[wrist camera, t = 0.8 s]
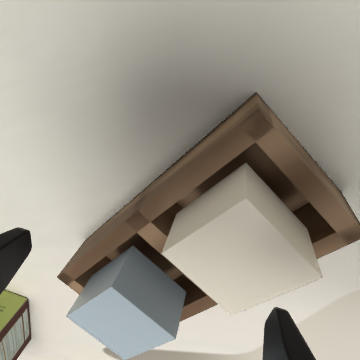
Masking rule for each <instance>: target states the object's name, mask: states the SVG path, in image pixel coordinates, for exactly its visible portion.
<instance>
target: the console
mask: <svg viewBox="0 0 360 360" xmlns="http://www.w3.org/2000/svg"><path fill="white" fill-rule="evenodd" d="M245 163H247V164H248V165H249V166H250V167H251V168H252V169H253V171H254V172H255V173H256V174H257V175H258V176H259V177H260V178H261V179H262V180H263V181H264V182H265V184H266V185H267V186H268V187H269V188H270V189H271V190H272V191H273V192H274V193H275V194H276V195H277V196H278V198H279V199H280V200H281V201H282V202H283V203H284V204H285V205H286V206H287V207H288V208H289V209H290V211H291V212H292V213H293V214H294V215H295V216H296V217H297V218H298V219H299V220H300V221H301V222H302V224H303V225H304V226H305V227H306V228H307V230H308V233H309V236H310V239H311V242H312V246H313V249H314V252H315V255H316V258H317V259H318V258H320V257H322V256H324V255H327V254H329V253H331V252H333V251H335V250H338V249H340V248H342V247H344V246H346V245H349V244H351V243H353V242H355V241H357V240H359V239H360V223H359V221H358V219H357V217H356V216H355V214H354V212H353V211H352V209H351V207H350V206H349V204H348V202H347V201H346V199H345V197H344V196H343V194H342V192H341V191H340V190H339V189H338V188H337V187H336V185H335V184H334V183H333V182H332V181H331V180H330V178H329V177H328V176H327V175H326V174H325V172H324V171H323V170H322V169H321V168H320V167H319V165H318V164H317V163H316V162H315V161H314V160H313V158H312V157H311V156H310V155H309V154H308V152H307V151H306V150H305V149H304V148H303V147H302V145H301V144H300V143H299V142H298V141H297V140H296V138H295V137H294V136H293V135H292V134H291V132H290V131H289V130H288V129H287V128H286V127H285V125H284V124H283V123H282V122H281V121H280V120H279V118H278V117H277V116H276V115H275V114H274V112H273V111H272V110H271V109H270V108H269V107H268V105H267V104H266V103H265V102H264V101H263V100H262V98H261V97H260V96H259V95H258V94H257V92H256V93H255V94H254V95H253V96H252V97H250V98H249V99H248V100H247V101H246V102H245V103H244V104H242V105H241V106H240V107H239V108H238V109H237V110H235V111H234V112H233V113H232V114H231V115H230V116H228V117H227V118H226V119H225V120H224V121H223V122H222V123H220V124H219V125H218V126H217V127H216V128H215V129H213V130H212V131H211V132H210V133H209V134H208V135H207V136H205V137H204V138H203V139H202V140H201V141H200V142H198V143H197V144H196V145H195V146H194V147H193V148H192V149H190V150H189V151H188V152H187V153H186V154H185V155H183V156H182V157H181V158H180V159H179V160H178V161H176V162H175V163H174V164H173V165H172V166H171V167H170V168H168V169H167V170H166V171H165V172H164V173H163V174H161V175H160V176H159V177H158V178H157V179H156V180H155V181H153V182H152V183H151V184H150V185H149V186H148V187H146V188H145V189H144V190H143V191H142V192H141V193H139V194H138V195H137V196H136V197H135V198H134V199H133V200H131V201H130V202H129V203H128V204H127V205H126V206H124V207H123V208H122V209H121V210H120V211H119V212H118V213H116V214H115V215H114V216H113V217H112V218H111V219H109V220H108V221H107V222H106V223H105V224H104V225H102V226H101V227H100V228H99V229H98V230H97V231H96V232H94V233H93V234H92V235H91V236H90V237H89V238H87V239H86V240H85V241H84V243H83V244H82V245H81V247H80V248H79V249H78V250H77V252H76V253H75V254H74V256H73V257H72V258H71V260H70V261H69V262H68V263H67V265H66V266H65V267H64V269H63V270H62V271H61V273H60V274H59V275H58V276H57V278H59V279H60V280H61V281H62V282H64V283H65V284H66V285H68V286H69V287H70V288H71V289H73V290H74V291H75V292H77V293H78V294H79V295H80V293H81V292H82V290H83V289H84V287H85V286H86V284H87V282H88V281H89V279H90V278H91V276H92V275H93V274H95V273H96V272H97V271H99V270H100V269H102V268H103V267H104V266H106V265H107V264H108V263H110V262H111V261H112V260H114V259H115V258H117V257H118V256H119V255H121V254H122V253H123V252H125V251H126V250H127V249H129V248H130V247H132V246H134V247H135V248H137V249H138V250H139V251H140V252H141V253H142V254H143V255H145V256H146V257H147V258H148V259H149V260H150V261H151V262H153V263H154V264H155V265H156V266H157V267H158V268H160V269H161V270H162V271H163V272H164V273H165V274H166V275H168V276H169V277H170V278H171V279H172V280H173V281H174V282H176V283H177V284H178V285H179V286H180V287H181V288H182V289H184V290H185V291H186V296H185V300H184V305H183V309H182V313H181V318H180V321H182V320H185V319H187V318H189V317H191V316H193V315H196V314H198V313H200V312H202V311H204V310H207V309H209V308H211V307H213V306H215V305H217V304H218V303H216V302H215V301H214V300H213V299H212V298H211V297H210V296H209V295H207V294H206V293H205V292H204V291H203V290H202V289H201V288H200V287H198V286H197V285H196V284H195V283H194V282H193V281H192V280H191V279H189V278H188V277H187V276H186V275H185V274H184V273H183V272H181V271H180V270H179V269H178V268H177V267H176V266H175V265H174V264H172V263H171V262H170V261H169V260H168V259H167V258H166V257H165V256H163V255H162V254H161V253H162V251H163V248H164V245H165V243H166V240H167V238H168V235H169V232H170V230H171V227H172V224H173V222H174V219H175V217H176V214H177V213H178V212H179V211H181V210H182V209H183V208H185V207H186V206H187V205H189V204H190V203H191V202H193V201H194V200H196V199H197V198H198V197H200V196H201V195H202V194H204V193H205V192H206V191H208V190H209V189H211V188H212V187H213V186H215V185H216V184H217V183H219V182H220V181H221V180H223V179H224V178H225V177H227V176H228V175H230V174H231V173H232V172H234V171H235V170H236V169H238V168H239V167H240V166H242V165H243V164H245Z"/></svg>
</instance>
